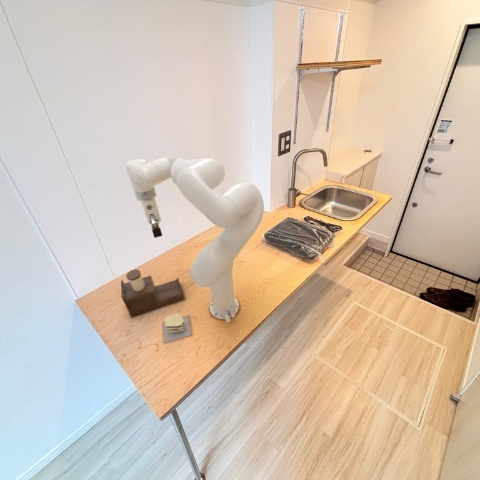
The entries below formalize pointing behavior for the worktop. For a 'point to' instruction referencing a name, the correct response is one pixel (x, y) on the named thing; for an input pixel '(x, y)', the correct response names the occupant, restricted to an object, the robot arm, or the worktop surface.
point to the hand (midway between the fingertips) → (156, 230)
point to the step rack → (150, 296)
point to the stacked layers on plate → (176, 327)
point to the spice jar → (135, 280)
